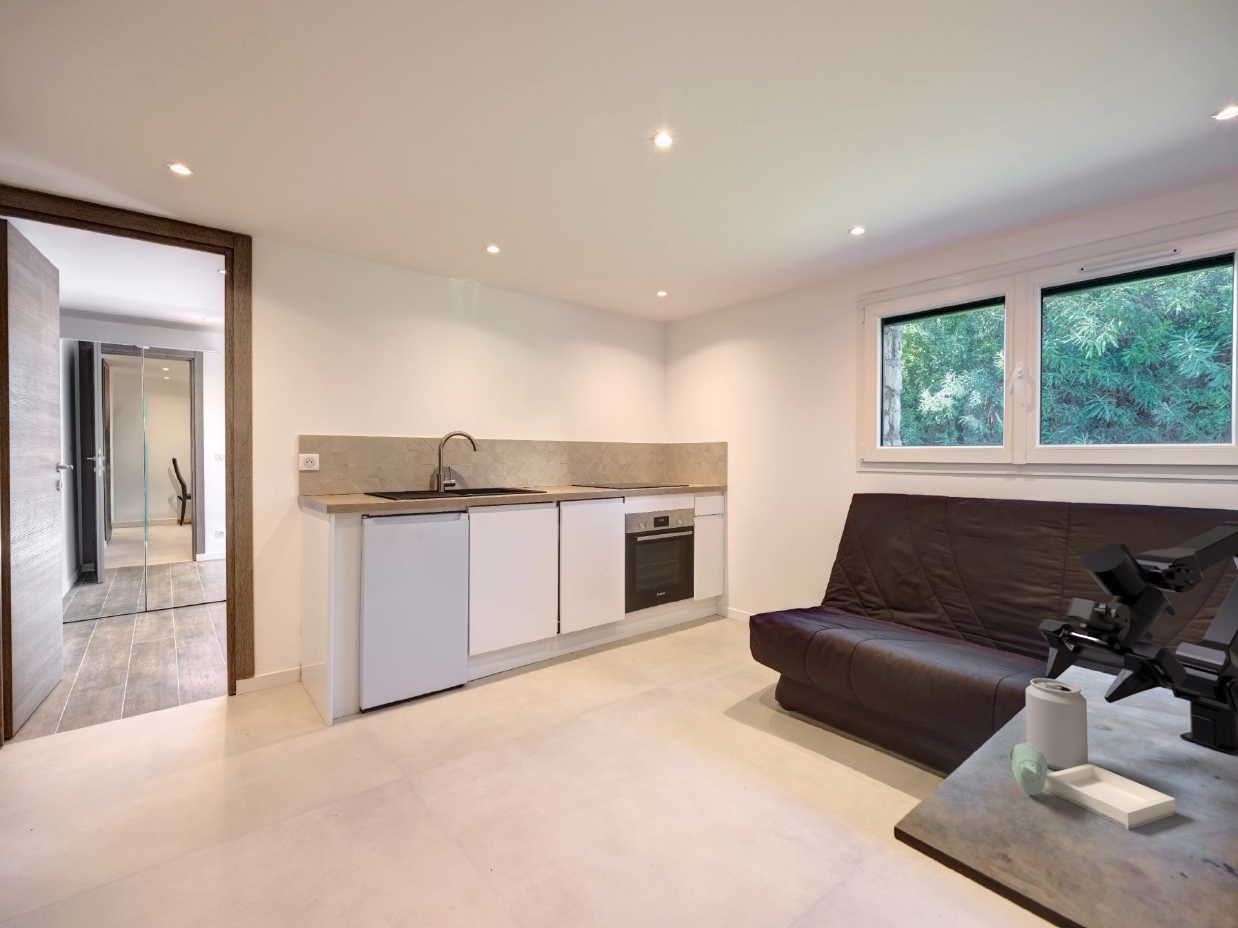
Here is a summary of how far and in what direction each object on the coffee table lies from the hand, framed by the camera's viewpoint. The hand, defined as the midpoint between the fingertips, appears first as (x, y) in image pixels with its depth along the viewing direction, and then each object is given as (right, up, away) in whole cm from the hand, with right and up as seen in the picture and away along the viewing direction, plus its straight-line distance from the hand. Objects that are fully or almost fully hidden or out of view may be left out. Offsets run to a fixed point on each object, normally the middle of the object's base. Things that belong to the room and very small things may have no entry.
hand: (1075, 689), depth 88 cm
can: (-4, -11, -1) cm, 12 cm away
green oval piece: (-15, -11, -10) cm, 21 cm away
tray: (-5, -10, -12) cm, 17 cm away
